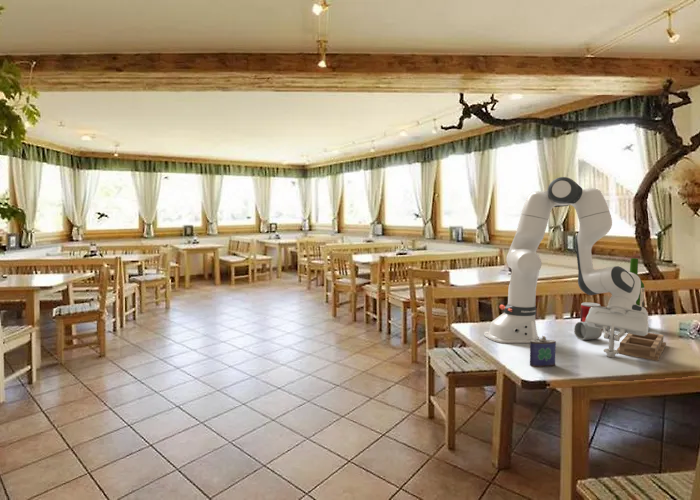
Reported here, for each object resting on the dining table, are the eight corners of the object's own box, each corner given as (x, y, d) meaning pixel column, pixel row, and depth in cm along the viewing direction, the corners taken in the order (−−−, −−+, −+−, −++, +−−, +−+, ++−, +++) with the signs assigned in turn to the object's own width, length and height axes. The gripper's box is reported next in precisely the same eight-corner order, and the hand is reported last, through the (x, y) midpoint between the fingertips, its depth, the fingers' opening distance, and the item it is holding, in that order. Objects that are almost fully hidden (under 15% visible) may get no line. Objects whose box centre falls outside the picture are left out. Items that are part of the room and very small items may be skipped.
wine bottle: (641, 329, 192) (645, 260, 189) (618, 326, 197) (622, 258, 194) (642, 325, 199) (646, 258, 196) (620, 322, 204) (623, 257, 201)
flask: (552, 363, 148) (553, 334, 147) (557, 366, 145) (558, 337, 144) (528, 364, 148) (529, 335, 147) (532, 367, 145) (533, 337, 144)
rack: (657, 360, 151) (658, 349, 150) (616, 352, 159) (616, 342, 159) (666, 345, 168) (666, 335, 168) (628, 339, 177) (628, 329, 177)
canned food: (603, 328, 193) (604, 305, 192) (585, 328, 193) (586, 305, 192) (593, 324, 201) (594, 302, 200) (577, 324, 201) (578, 302, 200)
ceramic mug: (603, 341, 174) (603, 323, 174) (585, 342, 173) (586, 324, 173) (585, 334, 185) (585, 317, 184) (568, 335, 184) (569, 318, 183)
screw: (612, 359, 152) (600, 355, 157) (621, 357, 154) (609, 353, 158) (614, 325, 151) (601, 321, 156) (623, 323, 153) (610, 320, 157)
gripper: (589, 300, 166) (579, 328, 160) (650, 308, 151) (641, 340, 145) (592, 309, 169) (582, 337, 164) (653, 318, 154) (644, 350, 149)
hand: (611, 339), depth 154 cm, fingers closed on screw, 2 cm apart
